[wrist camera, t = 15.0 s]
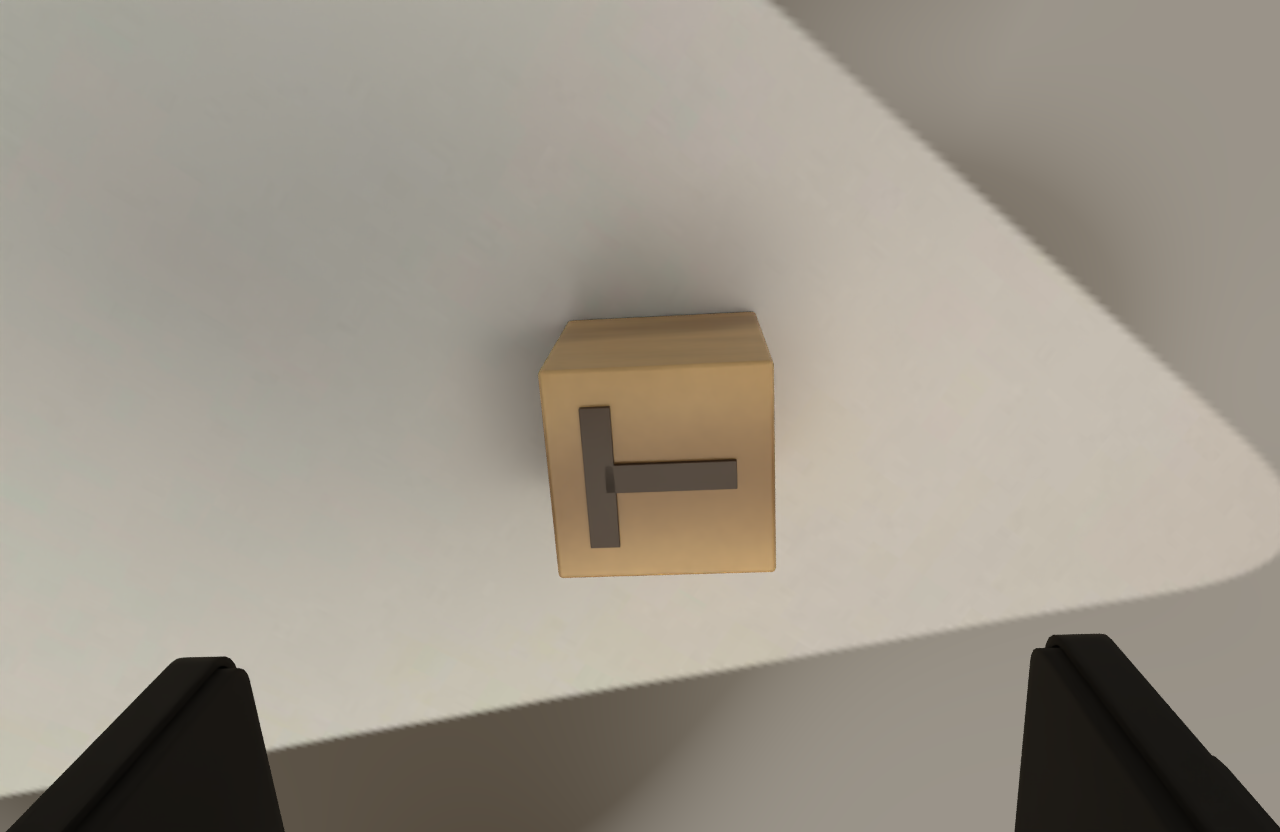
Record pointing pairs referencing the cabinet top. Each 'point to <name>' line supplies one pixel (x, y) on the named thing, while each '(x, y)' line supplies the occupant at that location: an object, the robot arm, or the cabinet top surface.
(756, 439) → the tile
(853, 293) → the cabinet top surface
